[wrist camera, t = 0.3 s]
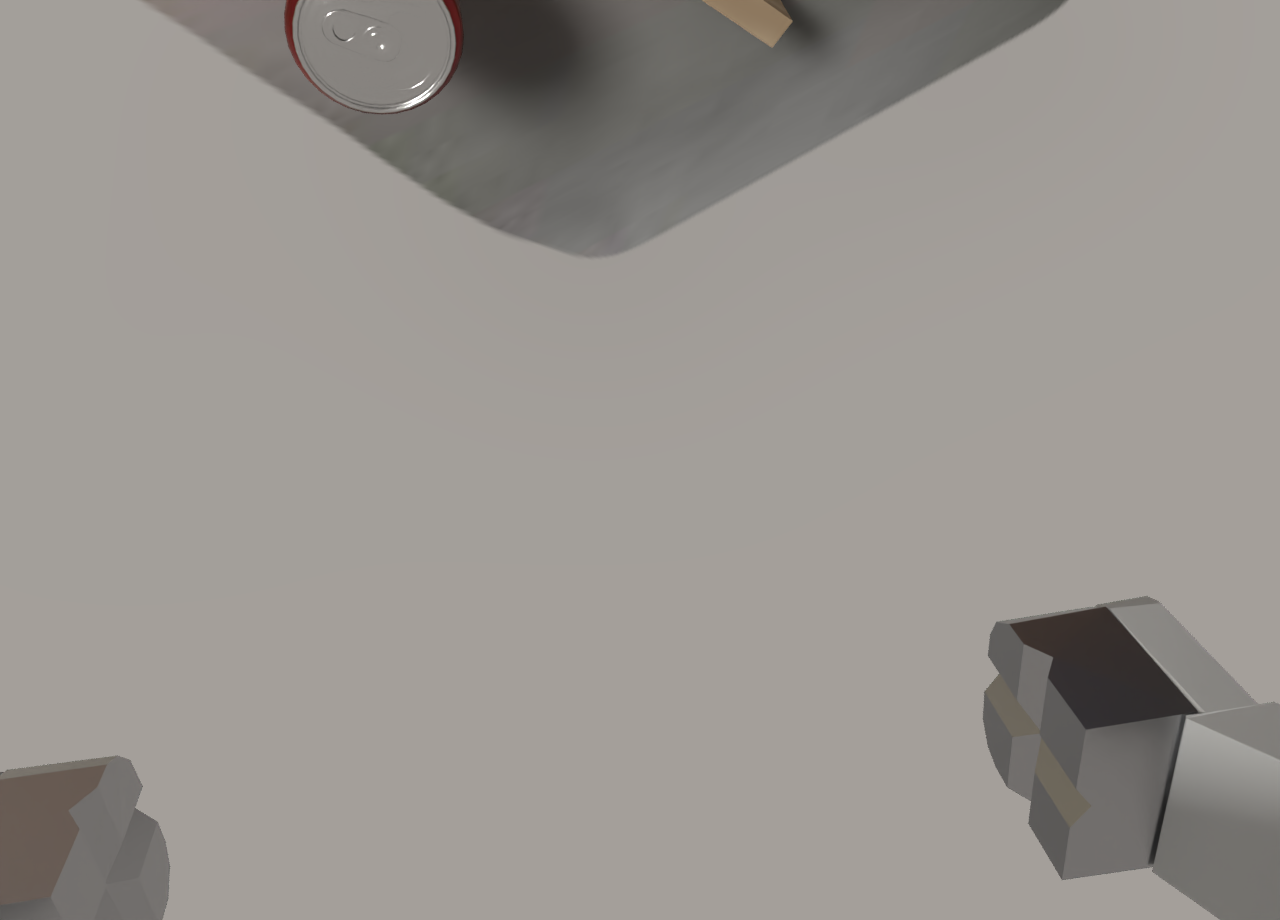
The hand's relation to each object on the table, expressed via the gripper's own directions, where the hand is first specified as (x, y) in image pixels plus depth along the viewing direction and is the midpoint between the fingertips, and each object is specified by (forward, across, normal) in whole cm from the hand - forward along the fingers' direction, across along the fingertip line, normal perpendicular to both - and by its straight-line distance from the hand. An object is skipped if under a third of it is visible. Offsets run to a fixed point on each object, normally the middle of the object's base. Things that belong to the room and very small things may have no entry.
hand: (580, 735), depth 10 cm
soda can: (+52, +5, -6) cm, 53 cm away
